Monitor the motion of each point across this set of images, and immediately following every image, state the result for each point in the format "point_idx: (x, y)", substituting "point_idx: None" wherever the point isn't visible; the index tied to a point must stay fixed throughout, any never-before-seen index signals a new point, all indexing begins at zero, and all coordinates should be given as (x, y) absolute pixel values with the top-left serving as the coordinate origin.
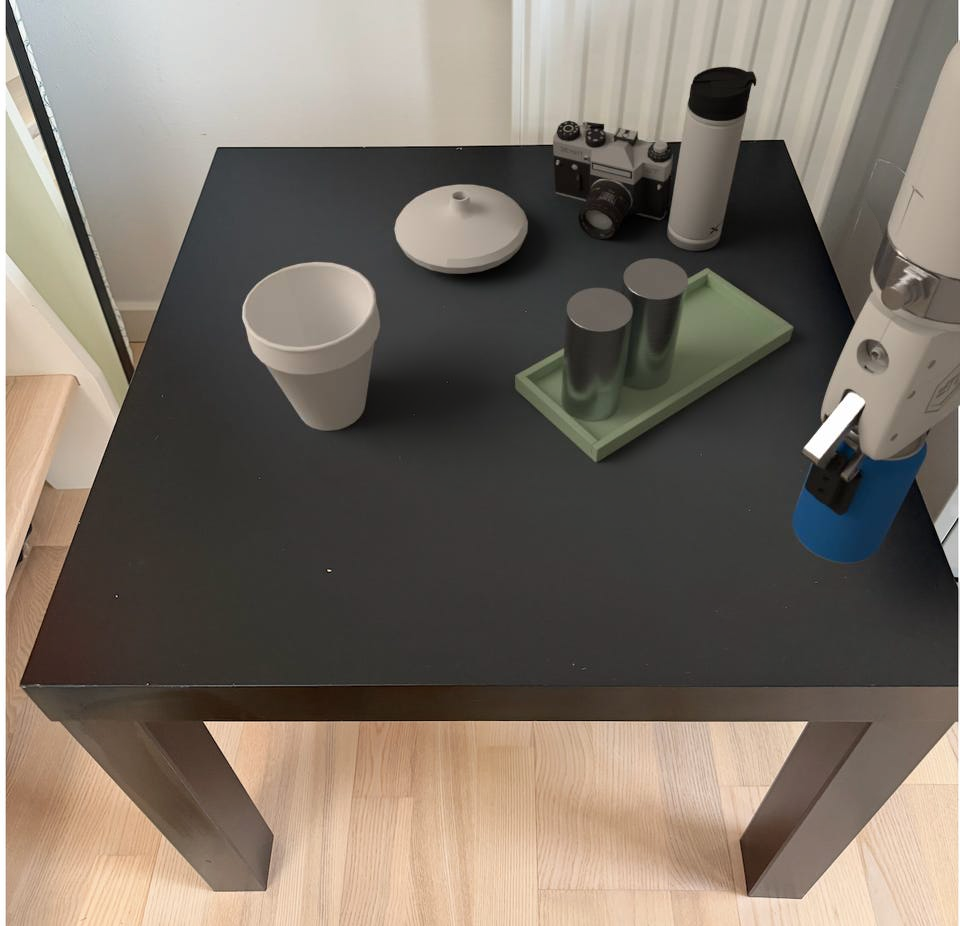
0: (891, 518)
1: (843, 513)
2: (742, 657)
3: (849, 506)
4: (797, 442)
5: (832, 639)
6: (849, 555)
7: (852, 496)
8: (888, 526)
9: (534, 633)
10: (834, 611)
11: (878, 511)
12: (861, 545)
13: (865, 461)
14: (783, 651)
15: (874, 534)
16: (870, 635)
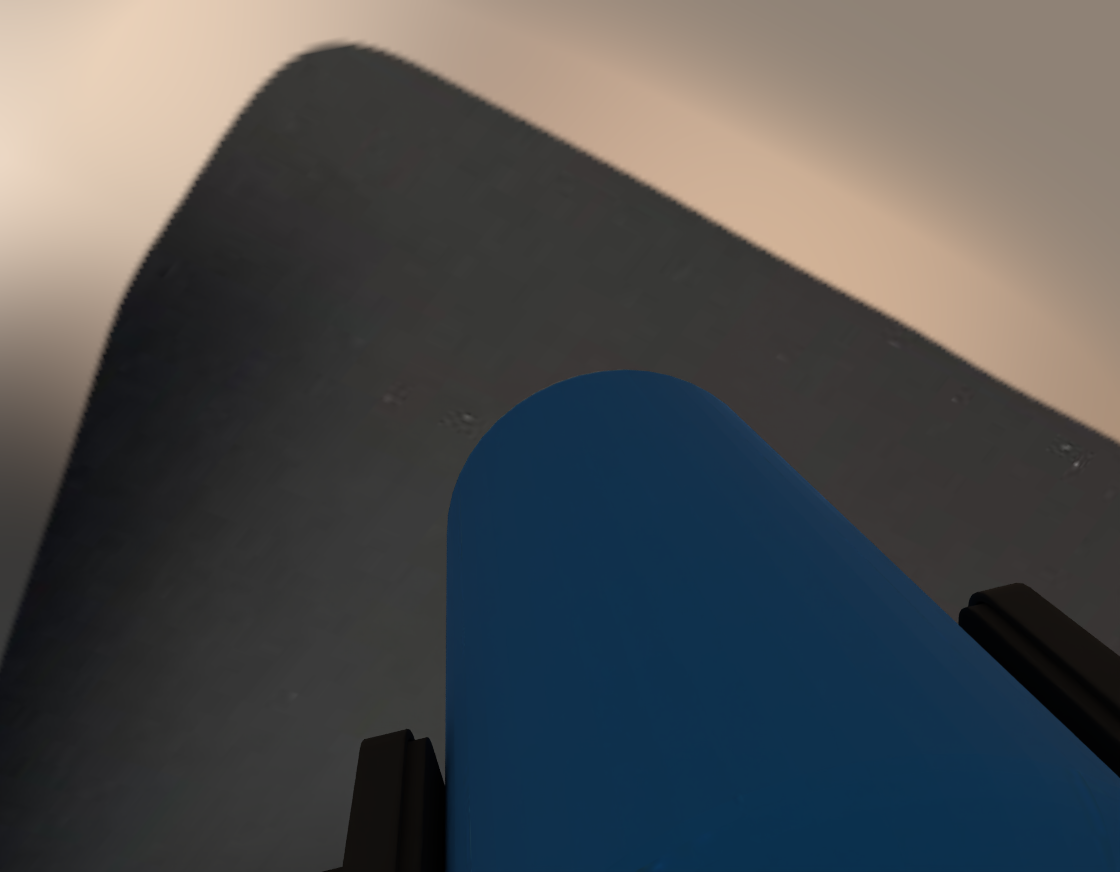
0: (637, 465)
1: (1032, 589)
2: (763, 321)
3: (1013, 617)
4: (247, 766)
5: (537, 263)
6: (716, 404)
7: (1115, 683)
8: (607, 439)
9: (1090, 556)
10: (479, 328)
11: (818, 525)
12: (710, 415)
13: None
14: (668, 291)
15: (693, 431)
16: (439, 228)
